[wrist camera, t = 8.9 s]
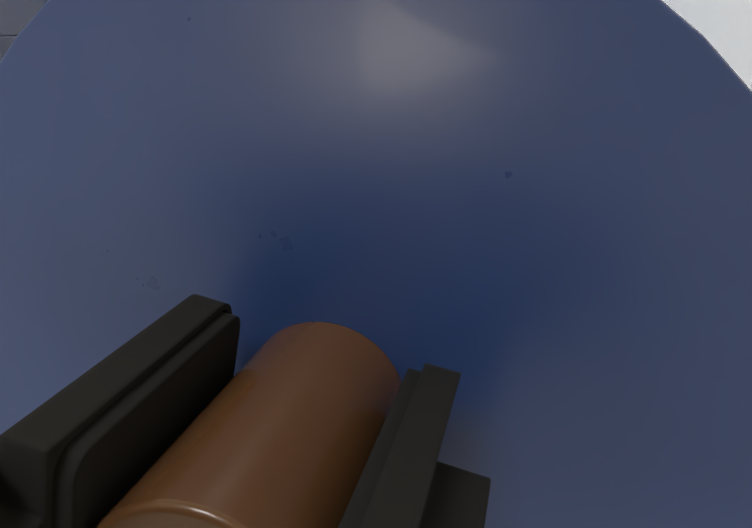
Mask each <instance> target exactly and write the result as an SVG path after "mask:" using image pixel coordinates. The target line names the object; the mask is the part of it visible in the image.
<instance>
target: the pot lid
mask: <svg viewBox="0 0 752 528" xmlns="http://www.w3.org/2000/svg"><path fill="white" fill-rule="evenodd" d="M192 294H198V295H201V296H204V297H208V298H211V299H214V300H218V301H221V302H224V303H228V304H230V306H231V309H232V315H235V316H238V317H239V318H240V322H241V324H240V334H239V341H238V349H237V356H236V364H235V371H234V377H233V378H232V379H231V380H230V381H229V382H228V384H227V385H226V386H225V387H224V388H223V389H222V390H221V391H220V392H219V393H218V394H217V395H216V397H215V398H214V399H213V400H212V401H211V402H210V403H209V404H208V405H207V406H206V407H205V408H204V410H203V411H202V412H201V413H200V414H199V415H198V416H197V417H196V418H195V419H194V420H193V421H192V423H191V424H190V425H189V426H188V427H187V428H186V429H185V430H184V431H183V432H182V433H181V434H180V436H179V437H178V438H177V439H176V440H175V441H174V442H173V443H172V444H171V445H170V446H169V447H168V449H167V450H166V451H165V452H164V453H163V454H162V455H161V456H160V457H159V458H158V459H157V461H156V462H155V463H154V464H153V465H152V466H151V467H150V468H149V469H148V470H147V471H146V472H145V474H144V475H143V476H142V477H141V478H140V479H139V480H138V481H137V482H136V483H135V484H134V485H133V487H132V488H131V489H130V490H129V491H128V492H127V493H126V494H125V495H124V496H123V497H122V498H121V500H120V501H119V502H118V503H117V504H116V505H115V506H114V507H113V508H112V509H111V510H110V511H109V513H108V514H107V515H106V516H105V517H104V518H103V519H102V520H101V521H100V523H99V524H98V525H97V526H96V528H338V526H339V524H340V522H341V520H342V517H343V515H344V513H345V511H346V508H347V506H348V504H349V501H350V499H351V497H352V495H353V492H354V490H355V488H356V486H357V483H358V481H359V479H360V476H361V474H362V472H363V470H364V467H365V465H366V463H367V461H368V458H369V456H370V454H371V451H372V449H373V447H374V445H375V442H376V440H377V438H378V436H379V433H380V431H381V429H382V426H383V424H384V422H385V420H386V417H387V415H388V413H389V411H390V408H391V406H392V404H393V401H394V399H395V397H396V395H397V392H398V390H399V388H400V386H401V383H402V381H403V379H404V376H405V374H406V372H407V370H408V368H411V369H415V370H418V371H421V372H422V369H423V367H424V365H425V363H429V364H432V365H435V366H439V367H442V368H445V369H449V370H452V371H456V372H459V373H461V377H460V380H459V384H458V387H457V391H456V395H455V398H454V402H453V405H452V409H451V413H450V416H449V420H448V423H447V427H446V431H445V434H444V438H443V441H442V445H441V449H440V452H439V456H438V459H437V461H439V462H442V463H445V464H448V465H451V466H454V467H457V468H460V469H463V470H466V471H470V472H473V473H476V474H479V475H482V476H485V477H488V478H490V479H491V484H490V492H489V499H488V506H487V512H486V519H485V526H484V528H752V91H751V90H750V89H749V88H748V87H747V85H746V84H745V83H744V82H743V81H742V80H741V78H740V77H739V76H738V75H737V74H736V73H735V72H734V70H733V69H732V68H731V67H730V66H729V65H728V64H727V62H726V61H725V60H724V59H723V58H722V57H721V55H720V54H719V53H718V52H717V51H716V50H715V49H714V47H713V46H712V45H711V44H710V43H709V42H708V41H707V39H706V38H705V37H704V36H703V35H702V34H701V33H699V32H698V31H697V30H696V29H695V28H693V27H692V26H691V25H690V24H689V23H688V22H686V21H685V20H684V19H683V18H682V17H681V16H679V15H678V14H677V13H676V12H675V11H673V10H672V9H671V8H670V7H669V6H668V5H666V4H665V3H664V2H663V1H662V0H48V1H47V2H46V3H45V4H44V6H43V7H42V8H41V9H40V10H39V11H38V12H37V13H36V15H35V16H34V17H33V18H32V19H31V20H30V21H29V22H28V24H27V25H26V26H25V27H24V28H23V29H22V30H21V31H20V32H19V34H18V35H17V36H16V38H15V40H14V41H13V43H12V44H11V46H10V47H9V49H8V50H7V52H6V54H5V55H4V57H3V58H2V60H1V61H0V435H1V434H2V433H4V432H5V431H6V430H8V429H9V428H10V427H12V426H13V425H15V424H16V423H17V422H19V421H20V420H21V419H23V418H24V417H25V416H27V415H28V414H30V413H31V412H32V411H34V410H35V409H36V408H38V407H39V406H40V405H42V404H43V403H45V402H46V401H47V400H49V399H50V398H51V397H53V396H54V395H55V394H57V393H58V392H59V391H61V390H62V389H64V388H65V387H66V386H68V385H69V384H70V383H72V382H73V381H74V380H76V379H77V378H79V377H80V376H81V375H83V374H84V373H85V372H87V371H88V370H89V369H91V368H92V367H94V366H95V365H96V364H98V363H99V362H100V361H102V360H103V359H104V358H106V357H107V356H108V355H110V354H111V353H113V352H114V351H115V350H117V349H118V348H119V347H121V346H122V345H123V344H125V343H126V342H128V341H129V340H130V339H132V338H133V337H134V336H136V335H137V334H138V333H140V332H141V331H143V330H144V329H145V328H147V327H148V326H149V325H151V324H152V323H153V322H155V321H156V320H157V319H159V318H160V317H162V316H163V315H164V314H166V313H167V312H168V311H170V310H171V309H172V308H174V307H175V306H177V305H178V304H179V303H181V302H182V301H183V300H185V299H186V298H187V297H189V296H190V295H192Z"/></svg>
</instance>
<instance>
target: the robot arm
mask: <svg viewBox="0 0 752 528" xmlns="http://www.w3.org/2000/svg"><path fill="white" fill-rule="evenodd" d="M240 324H241V322H240V318H239V317H238V316H235V315H232V309H231V306H230V304H228V303H224V302H221V301H218V300H214V299H211V298H208V297H204V296H201V295H198V294H192V295H190V296H189V297H187V298H186V299H185V300H183V301H182V302H181V303H179V304H178V305H177V306H175V307H174V308H172V309H171V310H170V311H168V312H167V313H166V314H164V315H163V316H162V317H160V318H159V319H157V320H156V321H155V322H153V323H152V324H151V325H149V326H148V327H147V328H145V329H144V330H143V331H141V332H140V333H138V334H137V335H136V336H134V337H133V338H132V339H130V340H129V341H128V342H126V343H125V344H123V345H122V346H121V347H119V348H118V349H117V350H115V351H114V352H113V353H111V354H110V355H108V356H107V357H106V358H104V359H103V360H102V361H100V362H99V363H98V364H96V365H95V366H94V367H92V368H91V369H89V370H88V371H87V372H85V373H84V374H83V375H81V376H80V377H79V378H77V379H76V380H74V381H73V382H72V383H70V384H69V385H68V386H66V387H65V388H64V389H62V390H61V391H59V392H58V393H57V394H55V395H54V396H53V397H51V398H50V399H49V400H47V401H46V402H45V403H43V404H42V405H40V406H39V407H38V408H36V409H35V410H34V411H32V412H31V413H30V414H28V415H27V416H25V417H24V418H23V419H21V420H20V421H19V422H17V423H16V424H15V425H13V426H12V427H10V428H9V429H8V430H6V431H5V432H4V433H2V434H1V435H0V528H96V526H97V525H98V524H99V523H100V521H101V520H102V519H103V518H104V517H105V516H106V515H107V514H108V513H109V511H110V510H111V509H112V508H113V507H114V506H115V505H116V504H117V503H118V502H119V501H120V500H121V498H122V497H123V496H124V495H125V494H126V493H127V492H128V491H129V490H130V489H131V488H132V487H133V485H134V484H135V483H136V482H137V481H138V480H139V479H140V478H141V477H142V476H143V475H144V474H145V472H146V471H147V470H148V469H149V468H150V467H151V466H152V465H153V464H154V463H155V462H156V461H157V459H158V458H159V457H160V456H161V455H162V454H163V453H164V452H165V451H166V450H167V449H168V447H169V446H170V445H171V444H172V443H173V442H174V441H175V440H176V439H177V438H178V437H179V436H180V434H181V433H182V432H183V431H184V430H185V429H186V428H187V427H188V426H189V425H190V424H191V423H192V421H193V420H194V419H195V418H196V417H197V416H198V415H199V414H200V413H201V412H202V411H203V410H204V408H205V407H206V406H207V405H208V404H209V403H210V402H211V401H212V400H213V399H214V398H215V397H216V395H217V394H218V393H219V392H220V391H221V390H222V389H223V388H224V387H225V386H226V385H227V384H228V382H229V381H230V380H231V379H232V378H233V377H234V371H235V364H236V356H237V349H238V341H239V334H240ZM460 377H461V373H459V372H456V371H452V370H449V369H445V368H442V367H439V366H435V365H432V364H429V363H425V365H424V367H423V369H422V372H421V371H418V370H415V369H411V368H408V370H407V372H406V374H405V376H404V379H403V381H402V383H401V386H400V388H399V390H398V392H397V395H396V397H395V399H394V401H393V404H392V406H391V408H390V411H389V413H388V415H387V417H386V420H385V422H384V424H383V426H382V429H381V431H380V433H379V436H378V438H377V440H376V442H375V445H374V447H373V449H372V451H371V454H370V456H369V458H368V461H367V463H366V465H365V467H364V470H363V472H362V474H361V476H360V479H359V481H358V483H357V486H356V488H355V490H354V492H353V495H352V497H351V499H350V501H349V504H348V506H347V508H346V511H345V513H344V515H343V517H342V520H341V522H340V524H339V526H338V528H484V526H485V519H486V512H487V506H488V499H489V492H490V484H491V479H490V478H488V477H485V476H482V475H479V474H476V473H473V472H470V471H466V470H463V469H460V468H457V467H454V466H451V465H448V464H445V463H442V462H439V461H437V459H438V456H439V452H440V449H441V445H442V441H443V438H444V434H445V431H446V427H447V423H448V420H449V416H450V413H451V409H452V405H453V402H454V398H455V395H456V391H457V387H458V384H459V380H460Z"/></svg>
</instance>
